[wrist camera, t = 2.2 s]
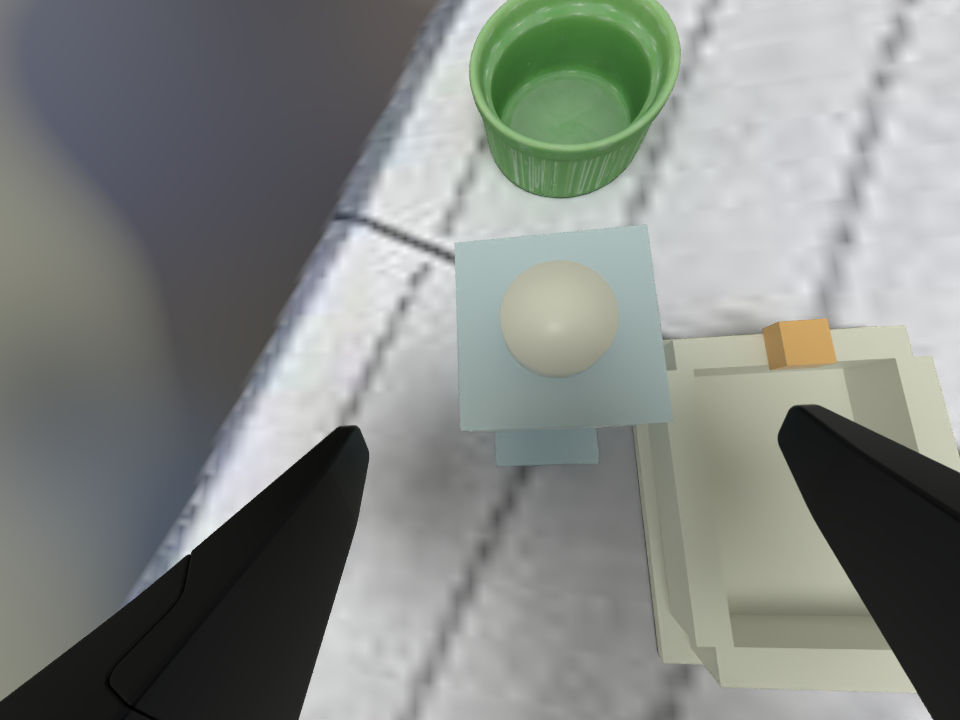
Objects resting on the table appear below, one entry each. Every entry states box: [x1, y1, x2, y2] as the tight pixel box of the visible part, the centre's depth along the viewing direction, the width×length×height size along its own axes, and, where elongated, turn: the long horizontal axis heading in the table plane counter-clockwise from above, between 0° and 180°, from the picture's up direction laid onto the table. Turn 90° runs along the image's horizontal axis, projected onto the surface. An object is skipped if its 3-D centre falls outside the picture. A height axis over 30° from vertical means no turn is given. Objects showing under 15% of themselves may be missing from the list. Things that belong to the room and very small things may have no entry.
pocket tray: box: [633, 319, 960, 693], centre depth 15 cm, size 13×10×4 cm
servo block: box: [455, 225, 673, 466], centre depth 13 cm, size 8×4×11 cm, turn 2°
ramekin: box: [469, 0, 681, 197], centre depth 19 cm, size 9×9×4 cm
